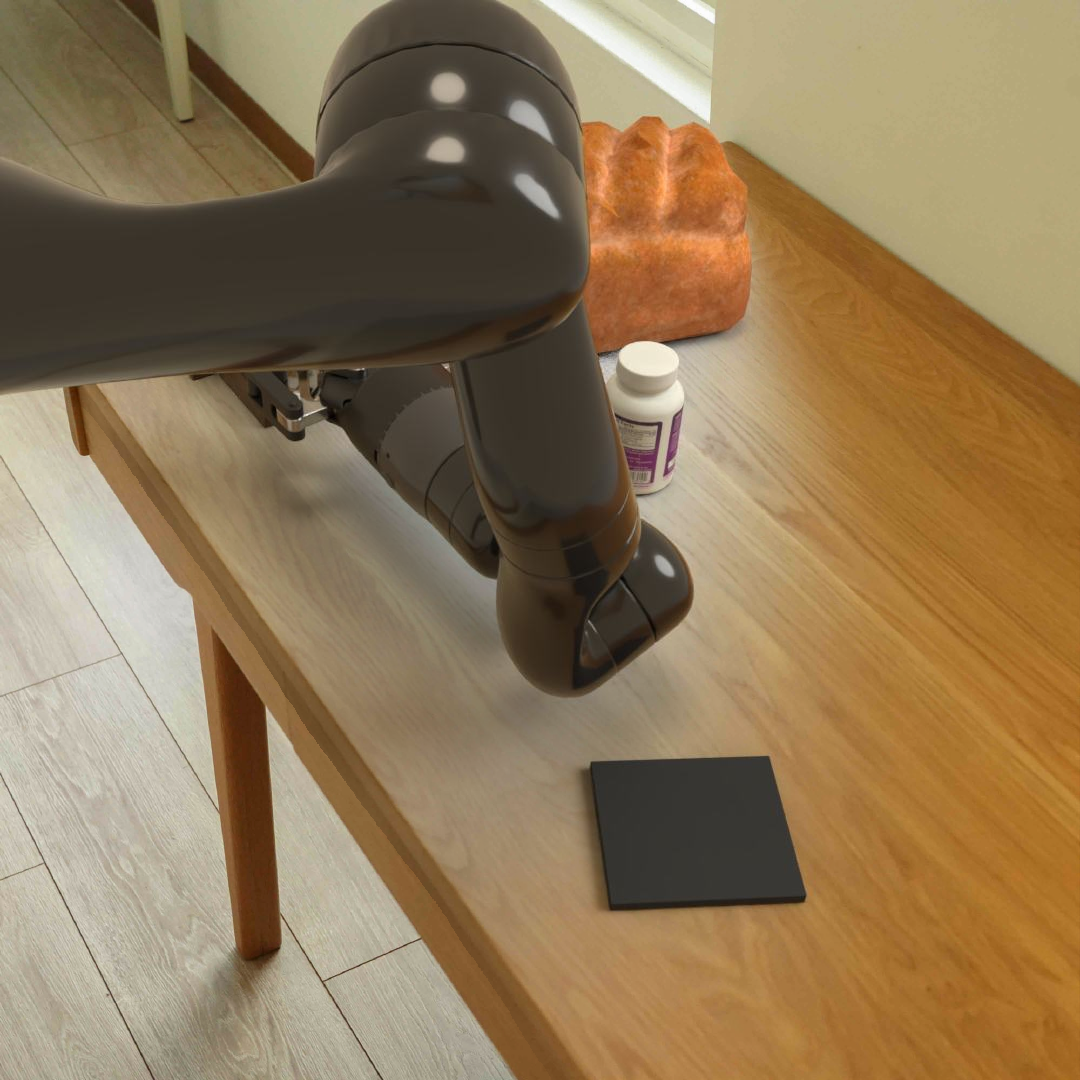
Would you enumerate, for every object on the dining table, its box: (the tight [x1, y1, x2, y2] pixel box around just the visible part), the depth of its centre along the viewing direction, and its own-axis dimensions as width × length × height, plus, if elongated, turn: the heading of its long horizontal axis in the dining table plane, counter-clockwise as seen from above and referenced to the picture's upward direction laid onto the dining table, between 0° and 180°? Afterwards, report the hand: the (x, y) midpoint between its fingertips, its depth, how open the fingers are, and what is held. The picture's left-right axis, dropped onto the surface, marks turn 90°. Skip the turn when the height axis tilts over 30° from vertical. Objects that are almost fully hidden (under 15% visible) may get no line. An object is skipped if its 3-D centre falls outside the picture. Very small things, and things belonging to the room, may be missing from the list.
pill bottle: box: [605, 341, 685, 495], centre depth 90 cm, size 5×5×10 cm
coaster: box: [589, 755, 808, 911], centre depth 71 cm, size 10×9×1 cm
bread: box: [582, 115, 753, 354], centre depth 103 cm, size 14×26×16 cm, turn 110°
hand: (310, 317), depth 92 cm, fingers open, 8 cm apart
